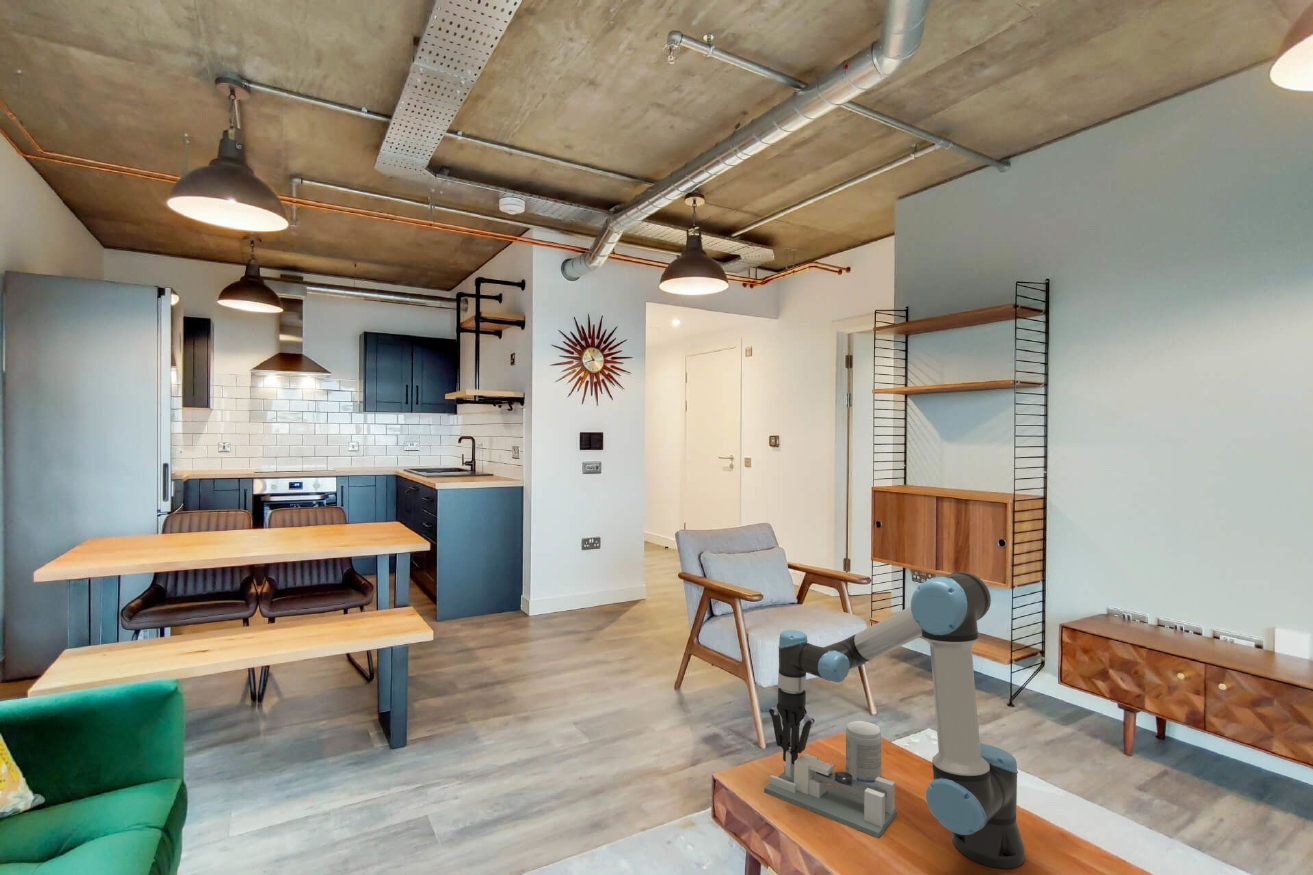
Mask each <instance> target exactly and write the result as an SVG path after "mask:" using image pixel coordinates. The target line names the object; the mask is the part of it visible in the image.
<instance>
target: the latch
mask: <svg viewBox="0 0 1313 875" xmlns="http://www.w3.org/2000/svg"><path fill="white" fill-rule="evenodd" d="M834 770H835V764H831V763H829V762H826V761H823V760H821V759H819V757H817V756H814V755H811V754H808V753H806V752H804V753H803V754H801V756H798V759H797V760H795V761H794V783H795V784H797V785H796V790H797V791H800V792H802V793H805V794H809V780H810V779H811V778H812V777H813V776H814V775H815V773H816V772H819V773H822V774H824V775H827V776H828V775H829V774H830V773H831V772H832V771H833V772H834Z"/></svg>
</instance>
